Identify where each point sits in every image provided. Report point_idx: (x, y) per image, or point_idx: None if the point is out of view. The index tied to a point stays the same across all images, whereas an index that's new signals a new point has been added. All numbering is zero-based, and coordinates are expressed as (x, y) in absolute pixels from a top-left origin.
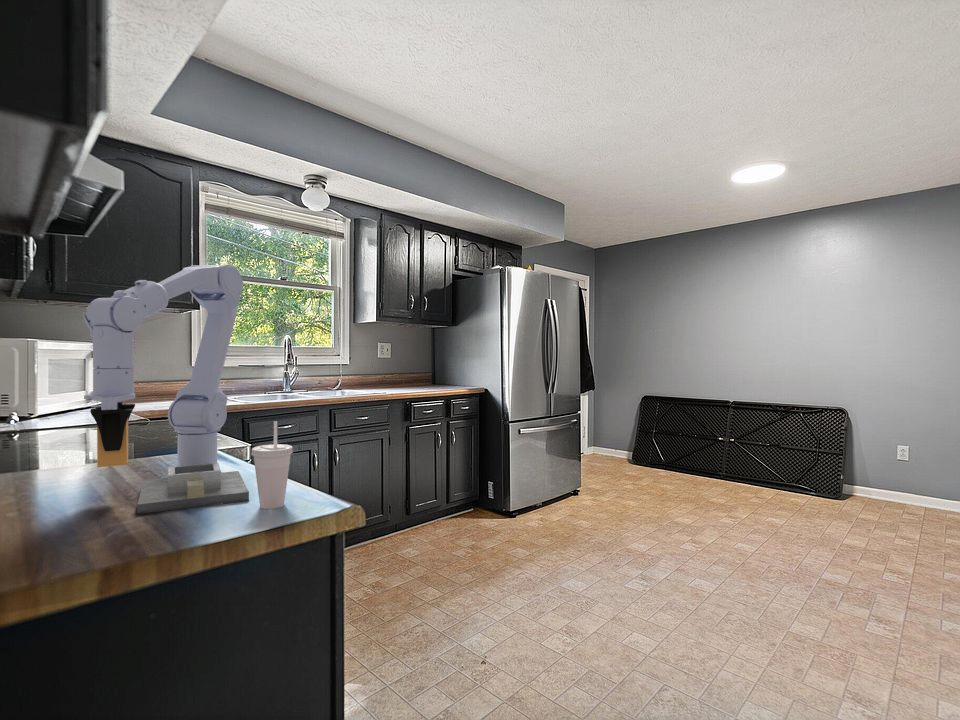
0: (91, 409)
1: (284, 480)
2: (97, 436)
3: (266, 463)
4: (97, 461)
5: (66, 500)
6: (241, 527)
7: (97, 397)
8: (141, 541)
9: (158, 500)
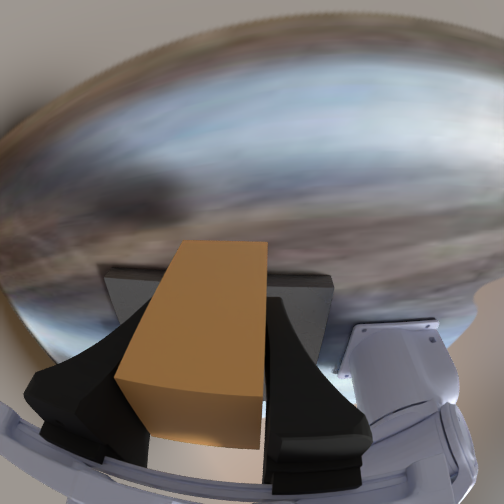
0: (32, 398)
1: None
2: (146, 310)
3: None
4: (179, 249)
5: (294, 124)
6: (55, 346)
7: (22, 464)
8: (18, 269)
9: (122, 304)
